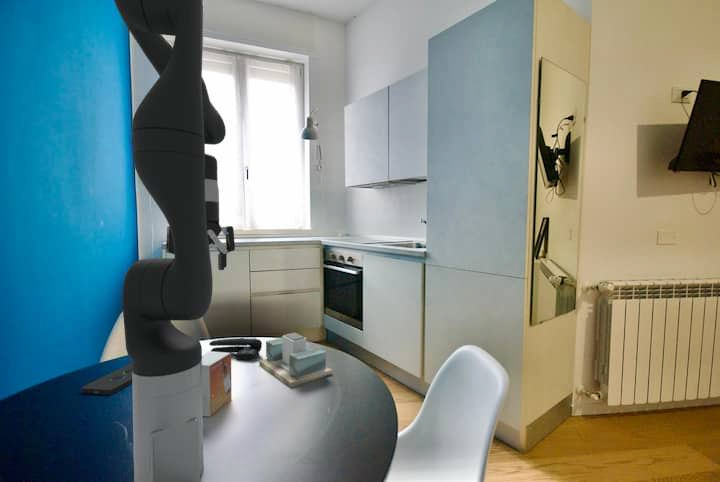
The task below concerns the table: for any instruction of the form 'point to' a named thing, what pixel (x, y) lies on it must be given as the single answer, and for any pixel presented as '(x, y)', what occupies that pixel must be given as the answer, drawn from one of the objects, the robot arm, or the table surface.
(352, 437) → the table surface
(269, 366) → the rail board
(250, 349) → the can opener
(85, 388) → the smart home device
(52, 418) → the table surface
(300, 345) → the block
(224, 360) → the small box
